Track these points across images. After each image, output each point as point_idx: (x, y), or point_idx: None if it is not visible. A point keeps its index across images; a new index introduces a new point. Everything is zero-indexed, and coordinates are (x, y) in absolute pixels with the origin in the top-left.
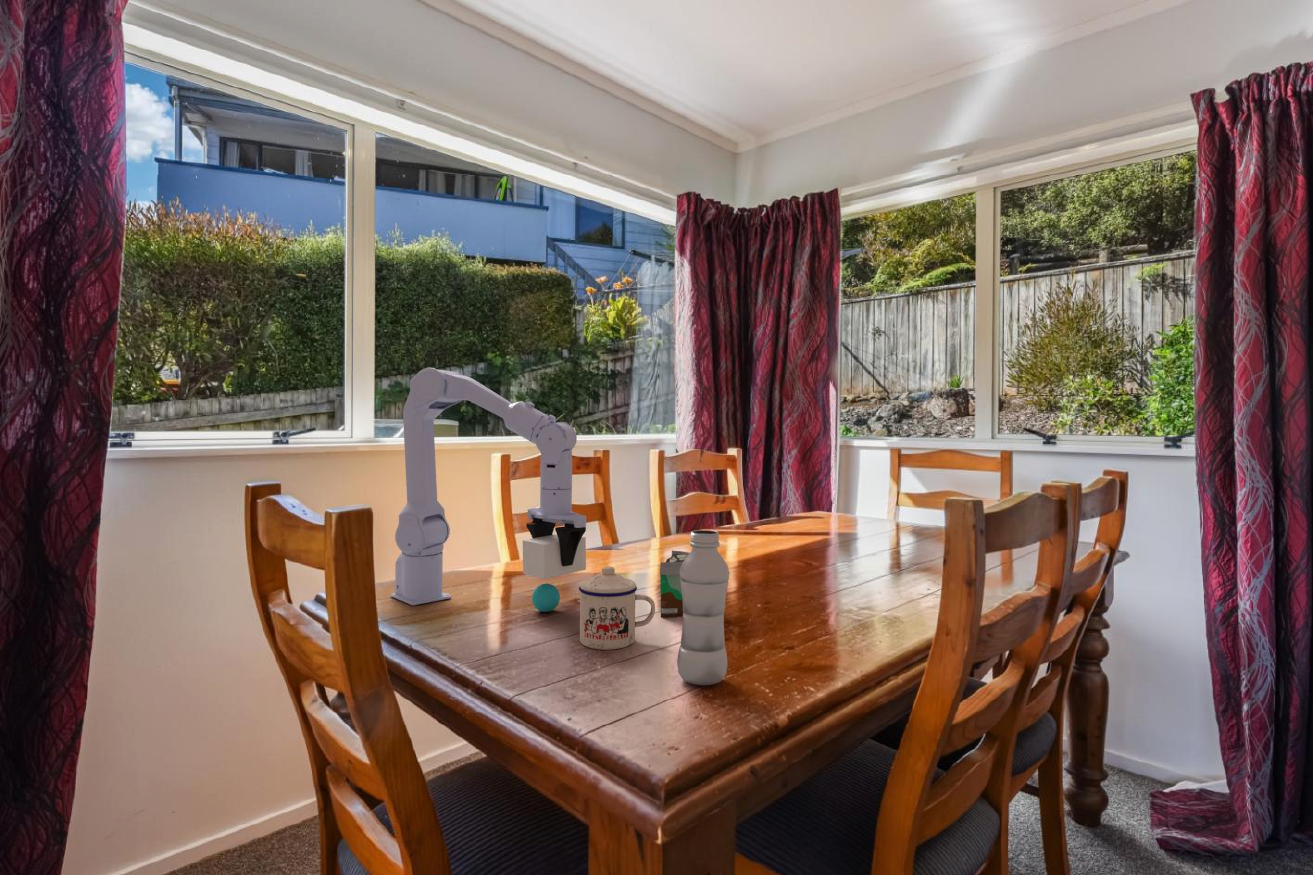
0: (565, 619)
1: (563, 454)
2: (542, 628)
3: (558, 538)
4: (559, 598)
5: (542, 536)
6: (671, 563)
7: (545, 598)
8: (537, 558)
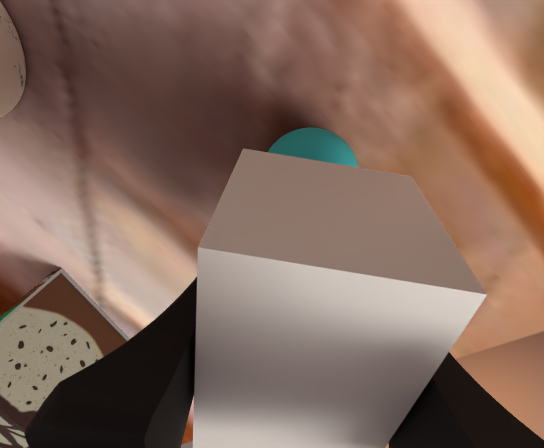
0: (203, 131)
1: None
2: (180, 4)
3: (175, 361)
4: None
5: (415, 411)
6: None
7: (277, 146)
8: (290, 201)
